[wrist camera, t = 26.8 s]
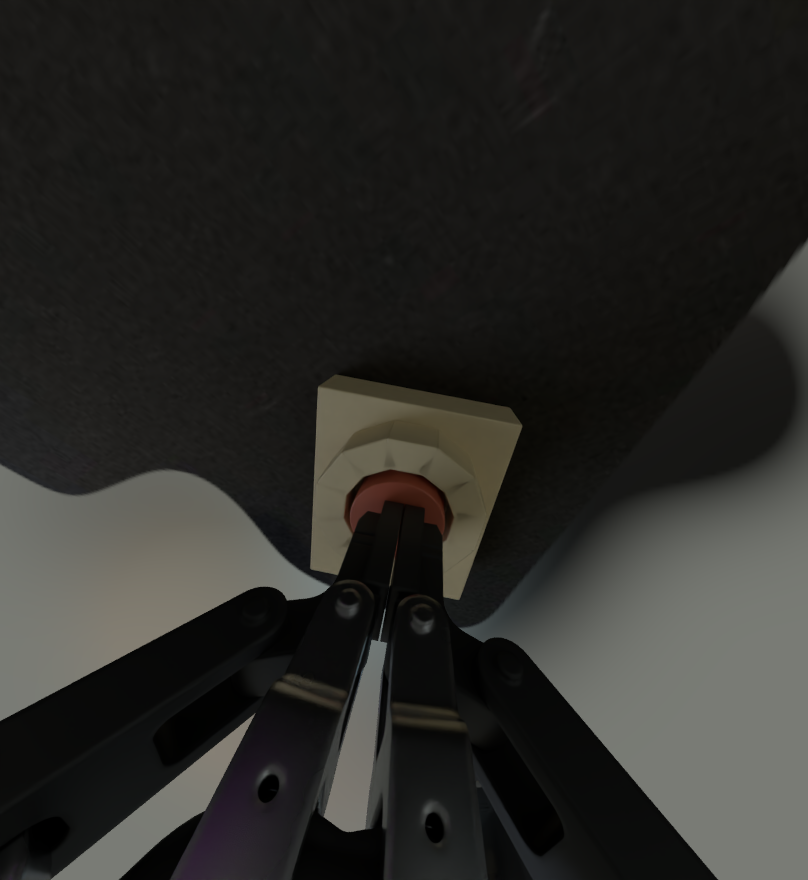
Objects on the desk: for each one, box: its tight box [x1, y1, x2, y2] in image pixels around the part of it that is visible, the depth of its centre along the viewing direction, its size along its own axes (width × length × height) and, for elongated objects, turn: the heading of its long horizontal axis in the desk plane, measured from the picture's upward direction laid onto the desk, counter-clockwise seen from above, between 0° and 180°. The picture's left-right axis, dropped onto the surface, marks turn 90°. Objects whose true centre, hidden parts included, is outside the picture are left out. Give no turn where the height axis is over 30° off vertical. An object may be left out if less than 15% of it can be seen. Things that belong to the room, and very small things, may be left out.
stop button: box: [350, 469, 445, 558], centre depth 12 cm, size 4×4×2 cm
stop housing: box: [311, 375, 522, 600], centre depth 14 cm, size 10×8×4 cm
